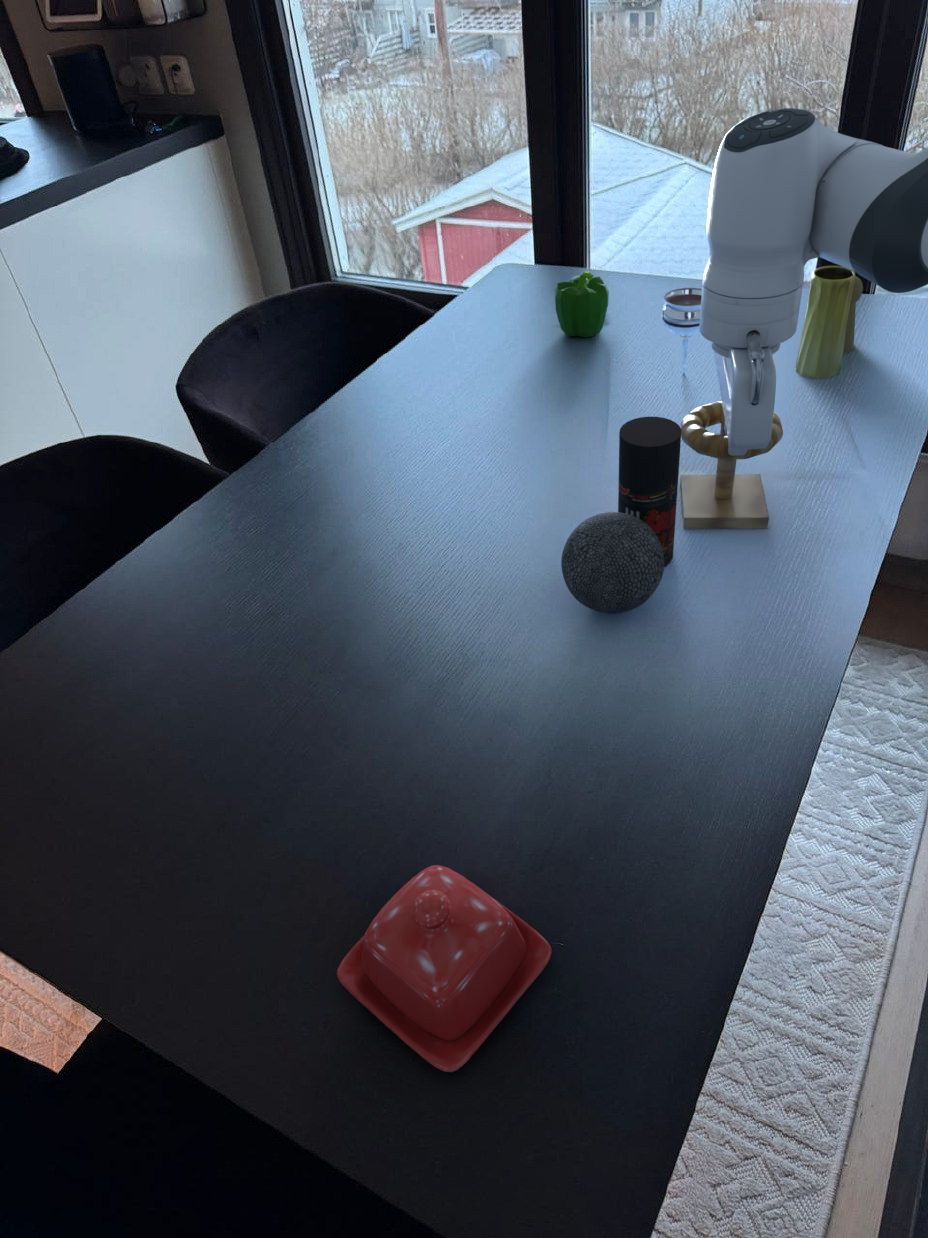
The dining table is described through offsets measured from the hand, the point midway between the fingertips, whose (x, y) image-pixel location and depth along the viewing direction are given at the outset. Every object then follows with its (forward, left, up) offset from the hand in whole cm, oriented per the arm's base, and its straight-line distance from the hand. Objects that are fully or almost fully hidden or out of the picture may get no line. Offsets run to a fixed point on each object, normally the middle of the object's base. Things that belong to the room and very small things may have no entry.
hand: (734, 442), depth 91 cm
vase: (-15, -36, -11) cm, 40 cm away
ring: (0, -4, -1) cm, 4 cm away
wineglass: (+3, -36, -11) cm, 38 cm away
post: (0, -4, -10) cm, 11 cm away
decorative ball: (+12, +13, -11) cm, 21 cm away
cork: (-18, -43, -11) cm, 48 cm away
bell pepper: (+18, -54, -11) cm, 58 cm away
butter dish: (+23, +54, -11) cm, 60 cm away
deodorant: (+9, +5, -11) cm, 15 cm away
